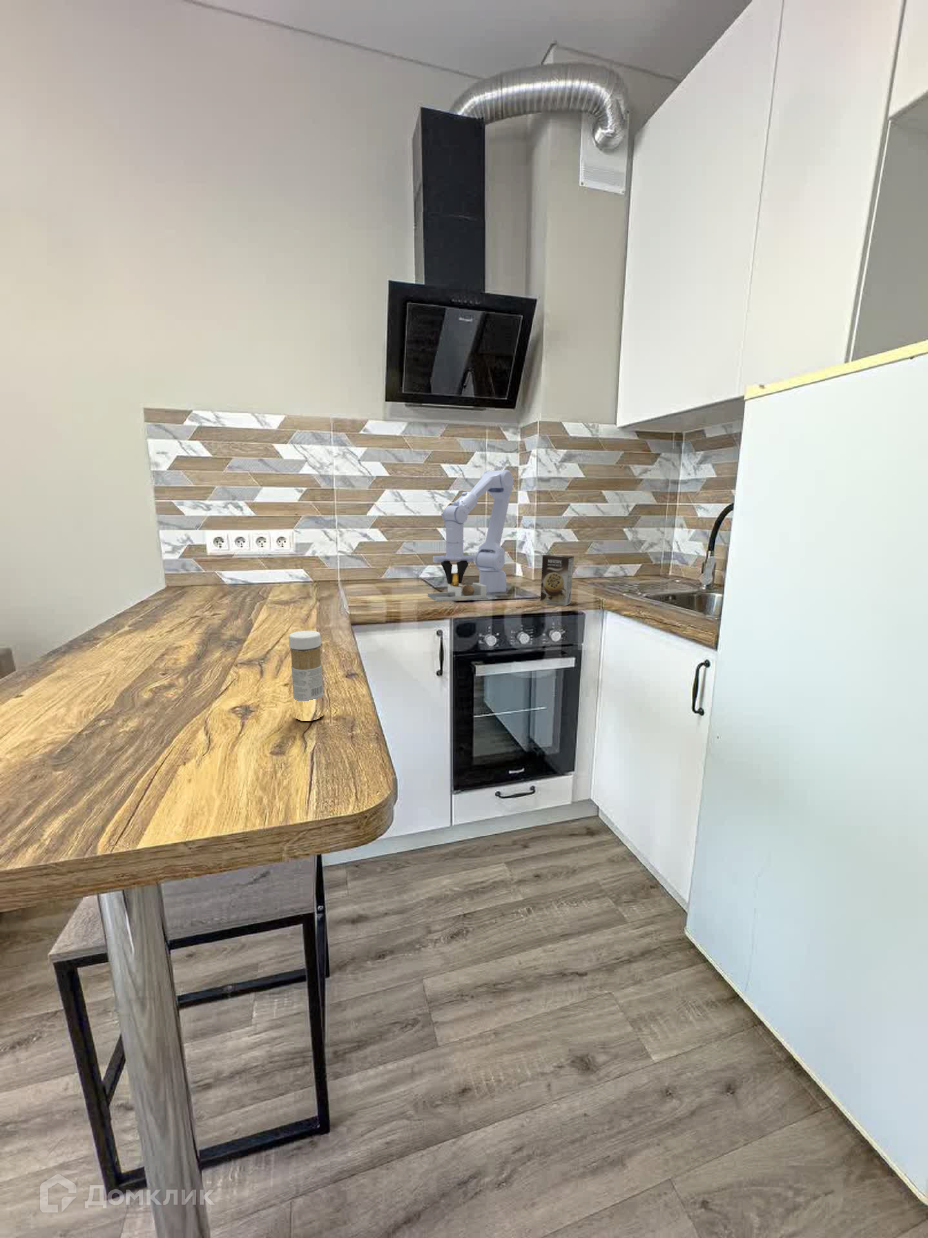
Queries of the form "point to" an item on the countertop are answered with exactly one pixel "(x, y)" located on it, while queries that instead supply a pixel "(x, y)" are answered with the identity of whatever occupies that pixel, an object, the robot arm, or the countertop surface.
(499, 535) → the robot arm
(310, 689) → the spice jar
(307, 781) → the countertop surface
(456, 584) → the cracker jaw
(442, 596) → the cracker base
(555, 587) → the coffee box
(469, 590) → the walnut
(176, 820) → the countertop surface
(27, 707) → the countertop surface
